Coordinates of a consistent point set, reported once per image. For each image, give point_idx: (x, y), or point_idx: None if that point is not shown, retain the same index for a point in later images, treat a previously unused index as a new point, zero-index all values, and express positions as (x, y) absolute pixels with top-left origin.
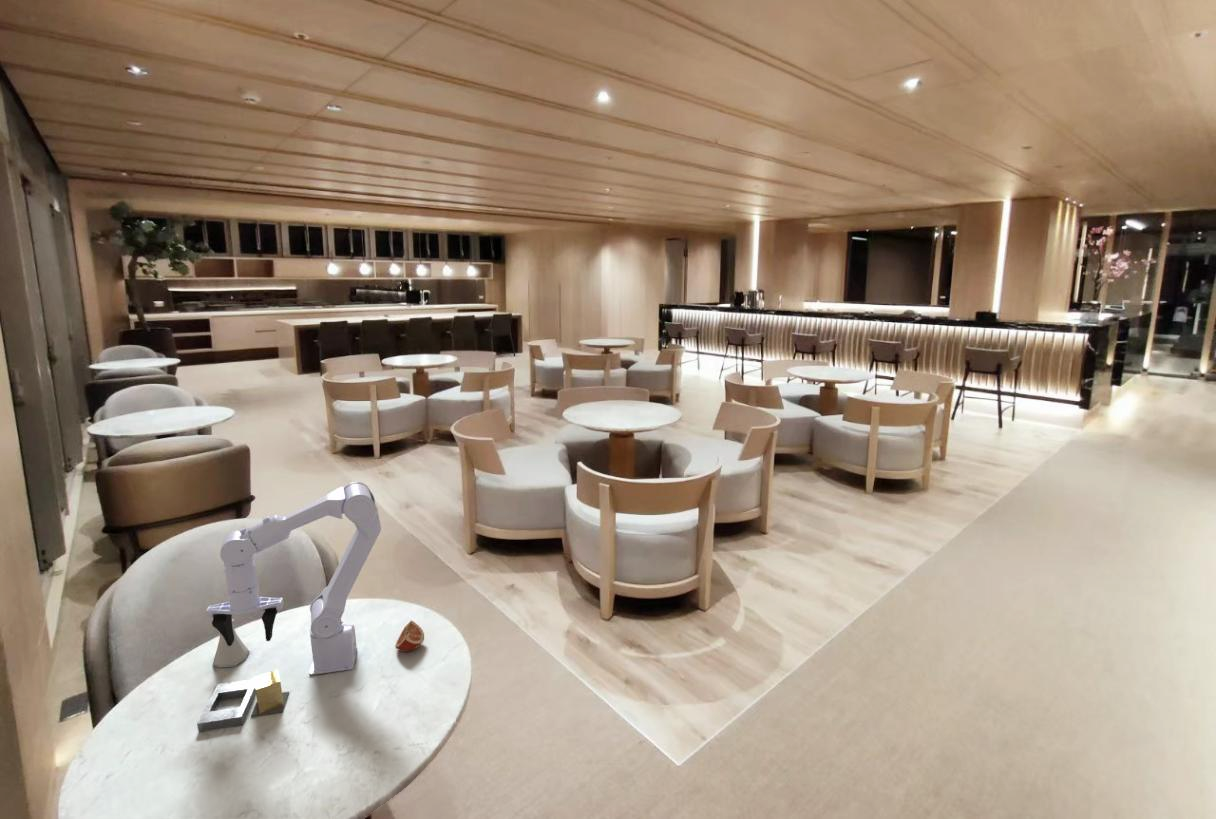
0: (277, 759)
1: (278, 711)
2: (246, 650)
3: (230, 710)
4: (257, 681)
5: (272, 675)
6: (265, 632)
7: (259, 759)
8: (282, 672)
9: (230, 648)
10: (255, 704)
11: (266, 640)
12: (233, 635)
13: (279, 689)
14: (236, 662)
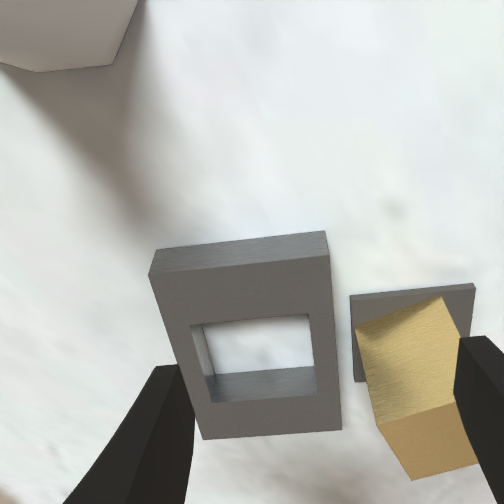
0: (475, 494)
1: None
2: None
3: (288, 404)
4: (403, 446)
5: None
6: (494, 493)
7: (427, 491)
8: (412, 138)
9: (41, 53)
10: (352, 338)
11: (456, 401)
12: (170, 399)
13: None
14: (112, 47)
